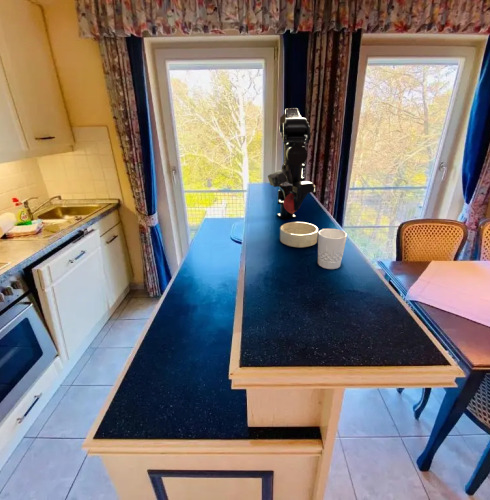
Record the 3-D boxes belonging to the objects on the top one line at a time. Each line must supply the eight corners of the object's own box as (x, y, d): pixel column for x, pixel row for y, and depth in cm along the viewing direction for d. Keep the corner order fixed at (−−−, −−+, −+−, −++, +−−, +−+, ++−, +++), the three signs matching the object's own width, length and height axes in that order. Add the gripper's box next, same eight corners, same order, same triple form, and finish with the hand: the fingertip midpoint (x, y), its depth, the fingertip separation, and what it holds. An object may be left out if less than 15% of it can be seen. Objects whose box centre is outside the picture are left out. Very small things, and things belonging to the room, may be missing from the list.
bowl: (273, 237, 104) (274, 224, 102) (304, 232, 108) (305, 220, 106) (290, 251, 93) (291, 237, 91) (324, 245, 97) (325, 231, 95)
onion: (295, 217, 94) (296, 193, 91) (280, 214, 97) (280, 191, 93) (302, 212, 98) (303, 190, 95) (287, 210, 101) (288, 188, 98)
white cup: (324, 255, 90) (328, 226, 85) (347, 263, 84) (352, 233, 80) (310, 264, 85) (313, 233, 80) (333, 273, 79) (337, 240, 75)
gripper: (260, 159, 96) (260, 203, 102) (284, 167, 80) (282, 219, 86) (289, 157, 99) (287, 200, 106) (317, 164, 83) (313, 214, 90)
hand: (291, 208), depth 97 cm, fingers closed on onion, 6 cm apart
